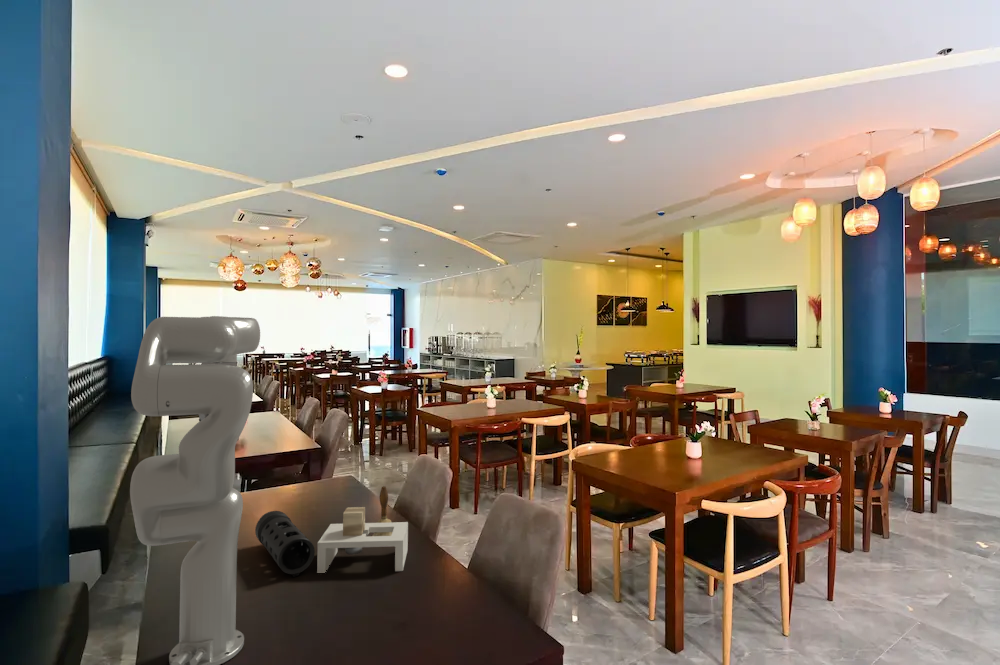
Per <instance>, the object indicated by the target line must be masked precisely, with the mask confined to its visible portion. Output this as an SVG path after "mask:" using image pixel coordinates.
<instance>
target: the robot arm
mask: <svg viewBox="0 0 1000 665" xmlns="http://www.w3.org/2000/svg"><path fill="white" fill-rule="evenodd" d="M260 340H261V329H260V325H259V321H258V320H257V319H256V318H253V317H242V316H241V317H240V316H239V317H236V316H222V315H221V316H219V315H217V316H216V315H212V316H200V317H199V316H198V317H197V316H195V317H194V316H160V317H156V318H155V319H153V320H152V321H151V322H150V323H149V324H148V326H147V327H146V329H145V330H144V334H143V336H142V339H141V343H140V347H139V349H138V350H139V351H138V356H137V360H136V364H135V369H134V374H133V378H132V382H131V389H130V390H131V391H130V392H131V394H130V397H131V404H132V406H133V408H134V410H135V411H136V412H137V413H139V414H140V415H143V416H147V417H169V416H189V415H191V416H193V415H198V417H199V418H198V422H197V423H196V424H195V425H194V426H193V427H191V428H190V430H188V432H187V433H186V434H184V436H183V437H182V438H181V440H180V441H179V444H178V453H174V454H162V455H161V454H159V455H154V456H149V457H147V458H144V459H143V460H141V461H140V462H138V463H137V465H136V466H135V468H134V470H133V472H132V475H131V478H130V483H129V484H130V487H129V497H130V504H131V510H132V515H133V516H132V517H133V522H134V527H135V533H136V535H137V538H138V540H139V542H140V543H141V544H142V545H145V546H147V547H148V546H149V547H152V546H153V547H154V546H157V547H158V546H164V545H172V544H177V543H178V544H179V543H185V542H195V544H194V545H193V546H192V547H191V548H190V549H189V551H188V552H187V554H186V555H185V557H184V558H183V560H182V562H181V565H180V580H179V582H180V583H179V586H180V587H179V588H180V589H179V592H180V593H179V631H178V632H179V633H178V636H179V639H178V640H179V641H178V643H177V644H176V645H174V647H173V648H172V649H171V651H170V652H169V655H168V662H169V665H221V664H224V663H227V662H228V661H229V660H231V659H232V658H234V657H235V656H236V655H237V654H239V652H240V651H241V650H242V649H243V647H244V645H245V635H244V633H242V632H241V631H240V630H238V629H236V628H237V627H236V626H237V624H236V620H237V617H236V616H237V573H238V572H237V570H238V569H237V568H238V563H237V562H238V545H239V544H238V543H239V542H238V541H239V533H240V525H241V522H242V515H243V506H244V500H243V496H242V494H241V492H240V491H239V490H238V489H236V488H234V483H235V475H236V445H237V443H238V440H239V438H240V437H241V434H242V432H243V431H244V428H245V426H246V423H247V421H248V418H249V416H250V413H251V409H252V403H253V397H254V396H253V394H254V382H253V379H252V376H251V374H250V372H248V371H247V370H246V369H244V368H242V367H239V366H237V365H238V362H237V361H238V355H240V354H248V353H251V352H252V353H253V352H255V351H256V350H257V349H258V347H259V346H260V342H261V341H260Z"/></svg>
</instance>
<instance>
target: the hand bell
mask: <svg viewBox="0 0 1000 665" xmlns="http://www.w3.org/2000/svg"><path fill="white" fill-rule="evenodd" d="M388 501H389V494H388V489H387V486H386V485H383V486H381V489H380V492H379V503H380V506H381V507H380V508H381V511H380V512H381V513H380V514H381V516H380V519H378V520H377V522H376V523H390V522H392V520H391V519H390V518H388V514H387V505H388ZM391 535H392V532H373V534H372V536H391Z"/></svg>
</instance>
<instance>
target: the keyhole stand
mask: <svg viewBox="0 0 1000 665" xmlns="http://www.w3.org/2000/svg"><path fill="white" fill-rule="evenodd" d="M375 532H392V535H391V536H373V535H372V536H371V535H369V534H371V533H373V534H374V533H375ZM408 542H409V522H408V521H402V522H400V521H399V522H397V521H395V522H392V521H391V522H390V523H377V522H365V530H364V532H363V534H362V535H355V536H343V523H330V524H329V526H328V527H327V528H326V530H325V531H324V533H323V534H322V536H321V538H320V539H319V540H318V541H317V557H316V558H317V559H316V560H317V563H316V564H317V566H316V567H317V569H316V570H317V571H316V573H325V572H326V573H327V571H328V569H329V567H330V566H331V565H332V563H333V560H334V559H335V557H336V556H337V553H338V550H339V549H346V548H355V547H362V548H382V547H384V548H386V547H390V548H391V547H394V549H395V550H394V552H395V553H394V554H395V555H394V572H403V571H404V568H405V564H406V559H407V554H408V547H409V546H408V545H409V544H408ZM329 565H330V566H329ZM326 570H327V571H326ZM326 573H325V574H326Z"/></svg>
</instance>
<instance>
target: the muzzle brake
mask: <svg viewBox="0 0 1000 665" xmlns="http://www.w3.org/2000/svg"><path fill="white" fill-rule="evenodd" d="M254 532H255V538H257V540H258V541H259V543H260V544H262V546H263V547H264V548H265V549H266V551H267V552H268V553H269V555H270V556H271V558H272V559H273V560H274V561H275V563H276V564H277V566H278V567H279V568H280V570H281V571H282V572H283V573H285V574H287V575H292V577H297V576H300V573H302V572H304V571H305V570H306V569H308V568H309V567H310V566H311V564H312V562H313V561H314V558H315V554H316V551H315V545H314V544H313V543H312V541H311V540H310V539H309V538H308V537H307V536H306V535H305V534H304V533H303V532H302V531H301V530H300V529H299V528H298V527H297V526H296V525H295V524H294V523H293V522H292V520H291V518H290V517H289V516H288V515H287V514H286V513H284V512H283V511H279V510H273V511H272V510H271V511H268V512H266V513H264V514H263V515H262V516H261V517H260V518H259V520H258V521H257V523H256V525H255V531H254Z"/></svg>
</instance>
